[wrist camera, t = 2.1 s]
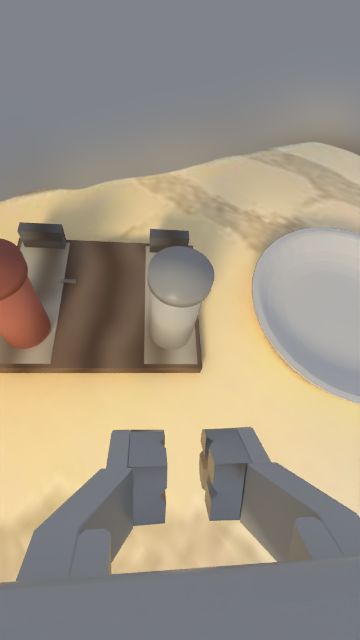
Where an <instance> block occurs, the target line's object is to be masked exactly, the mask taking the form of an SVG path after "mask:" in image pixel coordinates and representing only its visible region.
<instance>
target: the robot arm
mask: <svg viewBox="0 0 360 640" xmlns="http://www.w3.org/2000/svg"><path fill="white" fill-rule="evenodd" d="M164 444H165V435H164V430H113V431H112V434H111V440H110V447H109V453H108V460H107V466H106V469H100V470H99V471H98V472H97V473H96V474H95V475H94V476H93V477H92V478H91V479H89V480H88V481H87V482H86V483H85V484H84V485H83V486H82V487H81V488H80V489H79V490H78V491H77V492H75V493H74V494H73V495H72V496H71V497H70V498H69V499H68V500H67V501H66V502H65V503H64V504H63V505H61V506H60V507H59V508H58V509H57V510H56V511H55V512H54V513H53V514H52V515H51V516H50V517H49V518H47V519H46V520H45V521H44V522H43V523H42V524H41V525H40V526H39V527H38V528H37V529H36V530H35V531H34V533H33V535H32V538H31V541H30V544H29V546H28V549H27V552H26V555H25V557H24V560H23V563H22V566H21V568H20V571H19V574H18V577H17V579H16V581H15V582H2V583H0V640H360V518H359V516H358V515H357V514H356V513H355V512H354V511H352V510H350V509H349V508H347V507H346V506H344V505H342V504H341V503H339V502H338V501H336V500H335V499H333V498H331V497H330V496H328V495H327V494H325V493H324V492H322V491H320V490H319V489H317V488H316V487H314V486H313V485H311V484H309V483H308V482H306V481H305V480H303V479H302V478H300V477H298V476H297V475H295V474H294V473H292V472H291V471H289V470H287V469H286V468H284V467H283V466H281V465H280V464H278V463H272V462H271V461H270V459H269V457H268V455H267V453H266V452H265V450H264V448H263V446H262V444H261V442H260V441H259V439H258V437H257V435H256V433H255V431H254V430H253V428H251V427H239V428H225V429H202V433H201V444H202V448H203V451H202V452H201V453H200V459H199V473H200V481H201V486H202V488H203V489H204V490H205V504H206V508H207V512H208V517H209V521H218V520H240V522H241V523H242V524H243V525H244V526H245V527H246V529H247V530H248V531H249V532H250V533H251V534H252V535H253V536H254V537H255V538H256V539H257V540H258V542H259V543H260V544H261V545H262V546H263V547H264V548H265V549H266V550H267V551H268V552H269V554H270V555H271V556H272V557H273V558H274V559H275V560H276V561H277V562H272V563H259V564H245V565H232V566H218V567H205V568H191V569H178V570H165V571H151V572H138V573H124V574H111V563H112V561H113V559H114V558H115V556H116V555H117V553H118V551H119V550H120V548H121V547H122V545H123V543H124V542H125V540H126V539H127V537H128V535H129V534H130V532H131V530H132V529H133V526H139V525H150V524H162V523H165V511H166V497H165V489H166V488H167V456H166V448H165V447H164Z"/></svg>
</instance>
